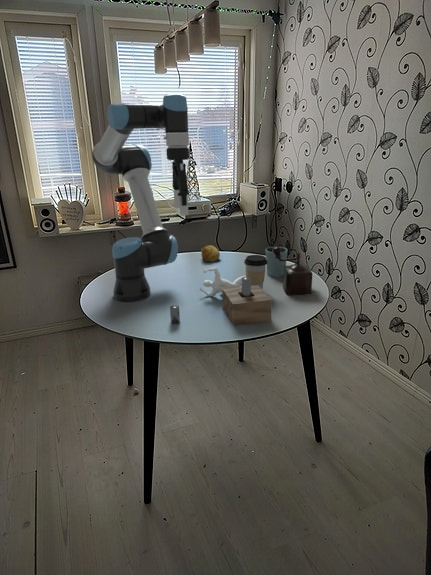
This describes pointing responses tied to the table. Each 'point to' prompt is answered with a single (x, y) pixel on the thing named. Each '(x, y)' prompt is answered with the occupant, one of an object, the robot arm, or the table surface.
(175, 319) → the short pin
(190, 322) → the table surface
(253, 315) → the pin block
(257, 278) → the coffee cup
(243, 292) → the long pin
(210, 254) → the bread roll
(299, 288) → the manual coffee grinder
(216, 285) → the person figurine
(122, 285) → the robot arm
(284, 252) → the light blue mug
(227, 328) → the table surface
